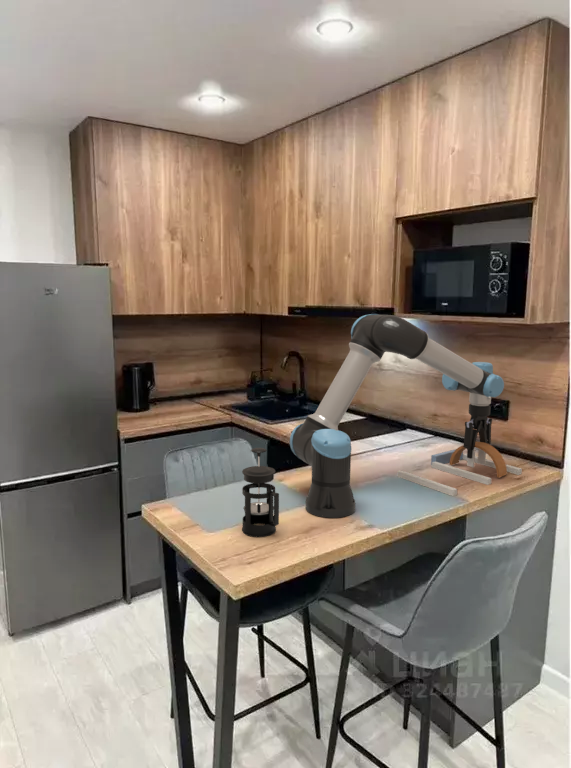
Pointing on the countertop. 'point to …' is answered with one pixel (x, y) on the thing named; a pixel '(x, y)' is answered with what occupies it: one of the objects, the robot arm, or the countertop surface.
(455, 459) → the arch
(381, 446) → the countertop surface
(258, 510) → the french press
